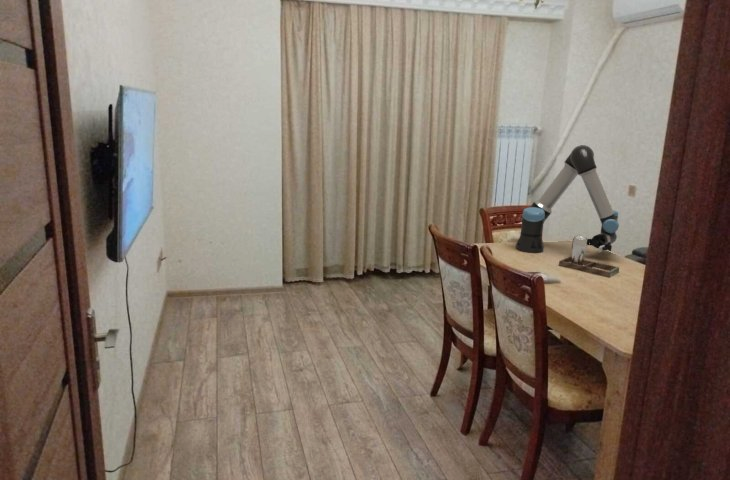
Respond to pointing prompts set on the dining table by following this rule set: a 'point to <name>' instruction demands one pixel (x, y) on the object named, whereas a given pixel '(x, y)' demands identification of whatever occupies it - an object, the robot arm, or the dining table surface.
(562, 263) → the two-cell rack
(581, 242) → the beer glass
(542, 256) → the dining table surface
